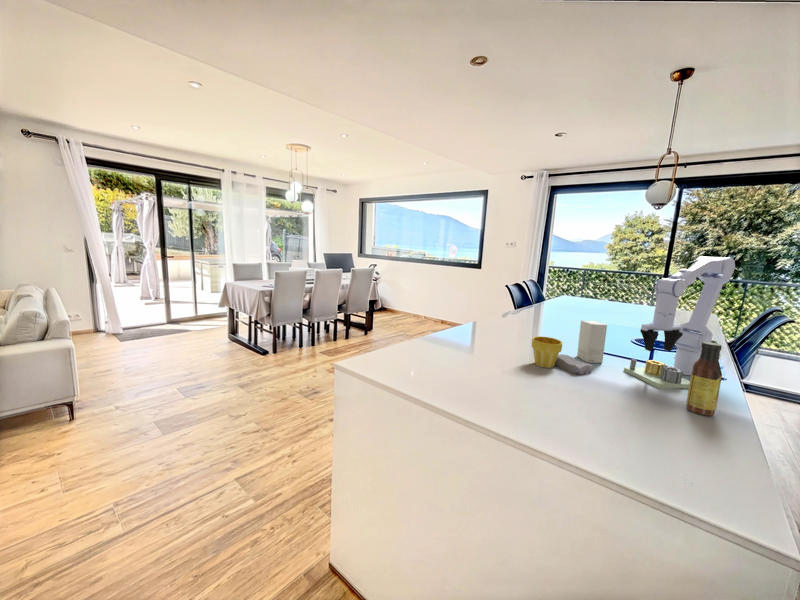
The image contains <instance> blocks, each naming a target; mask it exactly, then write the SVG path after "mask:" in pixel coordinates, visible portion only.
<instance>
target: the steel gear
mask: <svg viewBox="0 0 800 600" xmlns="http://www.w3.org/2000/svg"><path fill="white" fill-rule="evenodd" d="M669 369H670V367H667V366H666V365H665V366H664V367H662V371H661V376H660V379H662V380H663V381H667V382H669V383H676V384H679V383H681V380H682V378H683V375H684V374H683V371H681V370H680V369H676V370H675V371H673V370H669Z"/></svg>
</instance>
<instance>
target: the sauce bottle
mask: <svg viewBox="0 0 800 600" xmlns="http://www.w3.org/2000/svg"><path fill="white" fill-rule="evenodd" d="M701 347H702V351H701V355H700V358H699V360H698V361H696V362H695V363H694V365H693V370H692V373H691V375H690V380H689V381H690V385H689V388H688V392H687V397H686V404H685V407H686V409H688V411H690V412H692V413H695V414H698V415H701V416H707V417H712V416H714V414H715V411H716V410H717V404H718V399H719V394H720V388H721V383H722V378H723V373H722V369H721V365H720V361H719V360H720V358H719V357H720V353H721V350H722V345H721V344H720V343H716V342H712V341H711V342H702V345H701Z"/></svg>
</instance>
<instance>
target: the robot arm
mask: <svg viewBox="0 0 800 600" xmlns="http://www.w3.org/2000/svg"><path fill="white" fill-rule="evenodd" d="M735 269H736V263H735V260H734V258H733V257H730V256H729V257H722V256H703V255H700V256H698V257H697V258H695V261H694V264H693V265H691V266H690V267H688V269H687V268H680V269H679V270H678V271H677V272H675V273H674V274H672V275H670V276H669V277H666V278H665V277H662V278H661V279H658V280H657V282H656V283H655V285H654V291H655V299H656V302H655V303H656V304H655V309H654V315H653V319H652V322H650V323H642V324H641V328H640V331H639V332H640V333H641V335H642V339H643V343H644V350H646V351H648V352H652V351H653V349H654V347H655V341H656V339H657V338H658V336H659V333H657V332H660V331H661V332H662V331H663V333H664V334H663V335H664V343H663V350H664V351H667V352H671V351H672V350H673V348H674V346H675V347H676V352H675V358H674V363H673V366H671V365H670V366H669V365H667V366H666V367H674V368H676V369H680V370H681V371H683V375H685V376H691V373H692V370H693V365H694V363H695V362H696V361H698V360H699V358H700V355H701V351H702V347H701V345H702V342H712V338H713V332H712V331H711V330H710V329H709V327H707V324H708V322H709V320H710V317H711V314H712V313H713V310H714V307H715V305H716V303H717V300H718V298H719V295H720V293H721V291H722V289H723V286H724V284H726V283H729V282H730V280H731V279H732V276H733V275H734V271H735ZM697 278H698V279H699V280H700V281H703V283H704V285H703V287H702V289H701V291H700V294H699V295H698V299H697V301H696V303H695V306H694V308H693V311H692V313H691V316H690V318H689V321H688V322H685V323H682V324H674V323H675V319H676V314H677V307H678V302H679V297H681V296H682V295H683V294H684V292H685V290H687V287H689V286H690V285H693V283H695V282H696V279H697ZM655 331H657V332H655Z"/></svg>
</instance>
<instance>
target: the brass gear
mask: <svg viewBox="0 0 800 600" xmlns="http://www.w3.org/2000/svg"><path fill="white" fill-rule="evenodd" d="M645 361H646V362H645V367H644V368H645V372H647V373H649V374H653V375H656V376H658V375H661V371H662V367H664V366H666V363H665V362H662V361H659V360H654V359H650V360H649V359H646V360H645Z"/></svg>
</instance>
